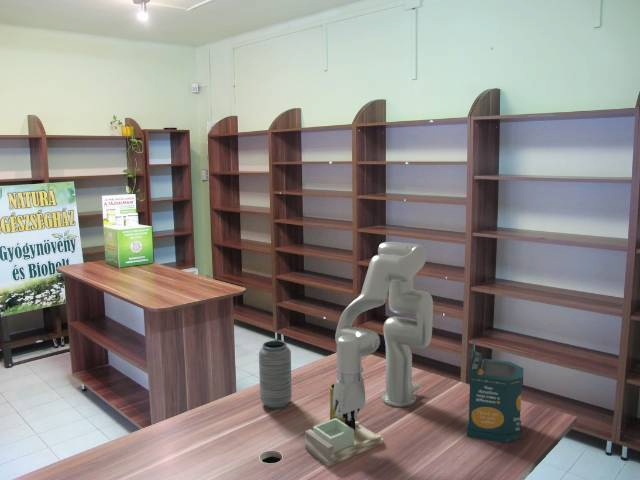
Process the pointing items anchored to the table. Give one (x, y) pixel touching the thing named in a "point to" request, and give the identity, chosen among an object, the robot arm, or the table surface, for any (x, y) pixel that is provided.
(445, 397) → the table surface
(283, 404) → the vase
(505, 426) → the donation box
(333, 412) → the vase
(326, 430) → the box
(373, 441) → the cream rectangular tray
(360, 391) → the robot arm
